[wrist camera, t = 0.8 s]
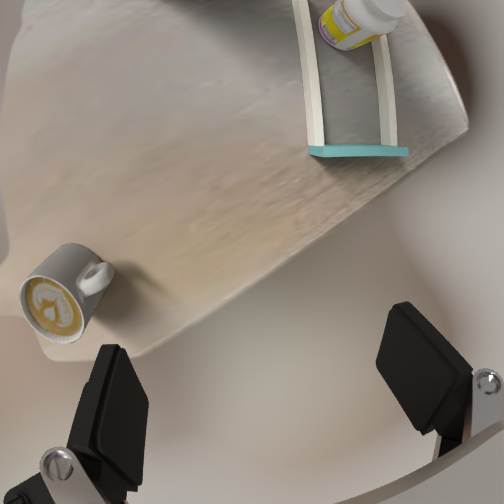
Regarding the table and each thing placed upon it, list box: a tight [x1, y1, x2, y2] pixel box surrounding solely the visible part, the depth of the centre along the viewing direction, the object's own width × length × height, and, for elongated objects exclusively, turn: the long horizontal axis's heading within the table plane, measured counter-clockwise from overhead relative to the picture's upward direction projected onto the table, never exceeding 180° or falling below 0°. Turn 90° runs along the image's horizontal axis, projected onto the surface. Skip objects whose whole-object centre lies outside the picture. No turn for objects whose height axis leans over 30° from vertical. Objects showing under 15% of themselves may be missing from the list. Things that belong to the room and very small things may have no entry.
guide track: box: [292, 0, 408, 157], centre depth 28 cm, size 24×12×5 cm, turn 5°
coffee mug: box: [19, 243, 115, 344], centre depth 32 cm, size 13×10×10 cm
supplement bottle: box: [318, 0, 407, 50], centre depth 22 cm, size 7×7×13 cm
